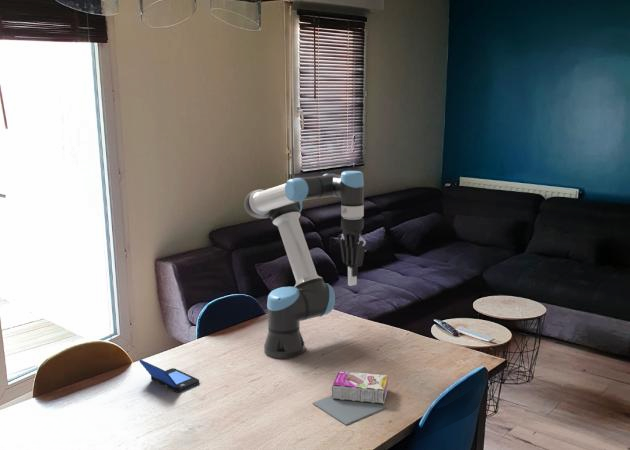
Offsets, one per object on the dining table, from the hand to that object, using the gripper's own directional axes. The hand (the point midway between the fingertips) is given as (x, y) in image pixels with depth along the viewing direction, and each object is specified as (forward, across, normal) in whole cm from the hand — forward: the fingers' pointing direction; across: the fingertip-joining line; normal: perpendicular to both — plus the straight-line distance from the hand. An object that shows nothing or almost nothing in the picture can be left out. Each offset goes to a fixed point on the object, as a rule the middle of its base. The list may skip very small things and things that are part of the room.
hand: (352, 284), depth 209 cm
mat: (+29, +22, -20) cm, 42 cm away
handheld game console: (+30, -26, -57) cm, 69 cm away
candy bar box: (+26, +12, -18) cm, 34 cm away
